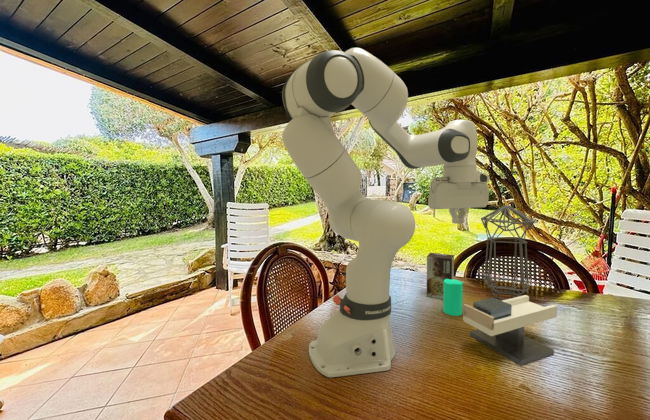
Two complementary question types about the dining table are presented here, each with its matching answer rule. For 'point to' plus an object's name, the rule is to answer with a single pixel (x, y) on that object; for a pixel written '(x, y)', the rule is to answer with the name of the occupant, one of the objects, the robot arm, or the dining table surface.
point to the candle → (452, 297)
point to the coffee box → (438, 273)
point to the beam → (520, 316)
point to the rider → (494, 307)
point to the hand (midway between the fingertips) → (458, 223)
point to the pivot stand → (514, 345)
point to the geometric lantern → (524, 218)
